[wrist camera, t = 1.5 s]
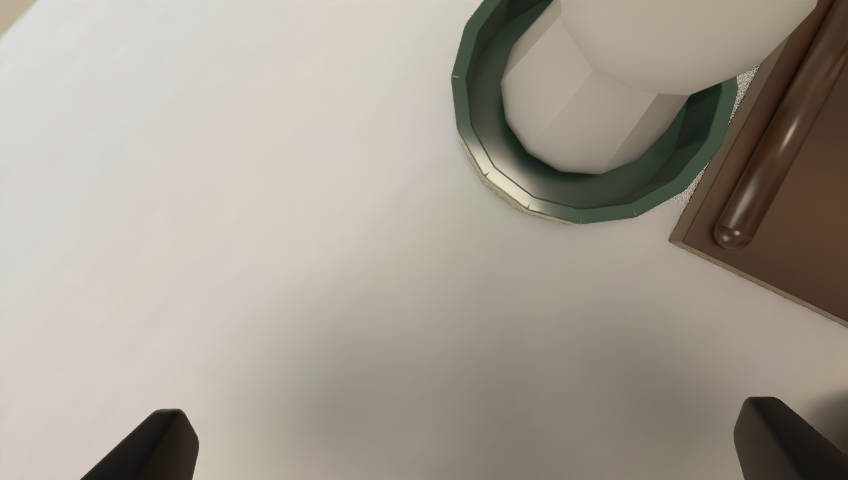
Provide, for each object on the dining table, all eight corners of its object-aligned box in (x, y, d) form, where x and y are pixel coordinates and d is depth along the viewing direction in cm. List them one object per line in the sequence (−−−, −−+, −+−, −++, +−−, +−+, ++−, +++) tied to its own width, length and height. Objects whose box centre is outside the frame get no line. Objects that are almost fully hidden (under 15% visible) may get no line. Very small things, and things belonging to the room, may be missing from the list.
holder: (740, 147, 22) (789, 132, 18) (528, 264, 22) (537, 271, 19) (620, -58, 22) (647, -112, 18) (415, 65, 23) (403, 37, 19)
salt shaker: (574, -7, 22) (714, -349, 9) (687, 96, 21) (1009, -100, 8) (467, 109, 22) (448, -50, 9) (577, 211, 22) (718, 194, 9)
